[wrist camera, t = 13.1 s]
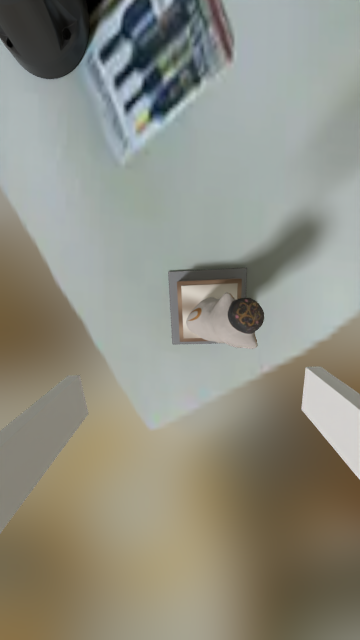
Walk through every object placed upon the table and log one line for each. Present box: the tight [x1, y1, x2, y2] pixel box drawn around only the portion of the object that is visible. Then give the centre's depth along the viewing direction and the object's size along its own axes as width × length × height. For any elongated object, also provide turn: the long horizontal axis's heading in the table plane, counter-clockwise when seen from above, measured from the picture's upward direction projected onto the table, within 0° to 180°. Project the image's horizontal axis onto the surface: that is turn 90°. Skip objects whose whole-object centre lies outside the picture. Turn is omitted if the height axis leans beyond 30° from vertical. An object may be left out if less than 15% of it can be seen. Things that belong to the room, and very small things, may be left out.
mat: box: [168, 268, 247, 344], centre depth 39 cm, size 16×16×1 cm
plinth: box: [177, 279, 242, 342], centre depth 37 cm, size 12×12×4 cm
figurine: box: [186, 292, 264, 349], centre depth 28 cm, size 9×10×15 cm
